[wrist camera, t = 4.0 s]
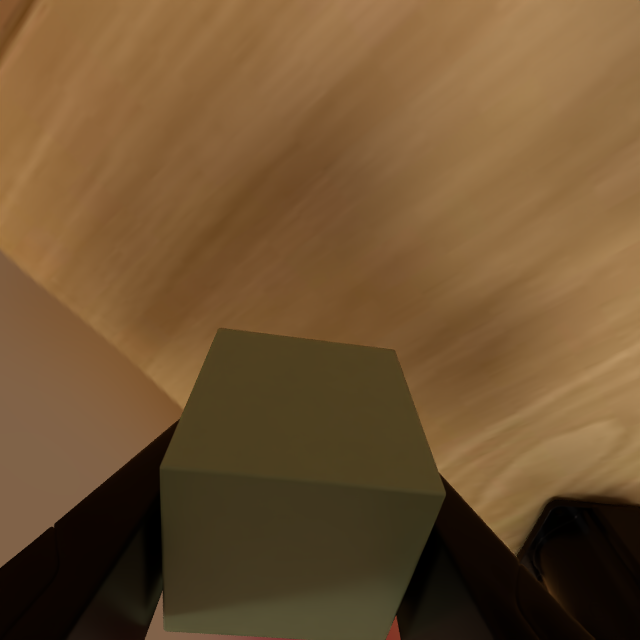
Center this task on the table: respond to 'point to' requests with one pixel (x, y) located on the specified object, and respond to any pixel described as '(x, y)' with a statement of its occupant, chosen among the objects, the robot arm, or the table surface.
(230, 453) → the block
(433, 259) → the table surface
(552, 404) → the table surface
